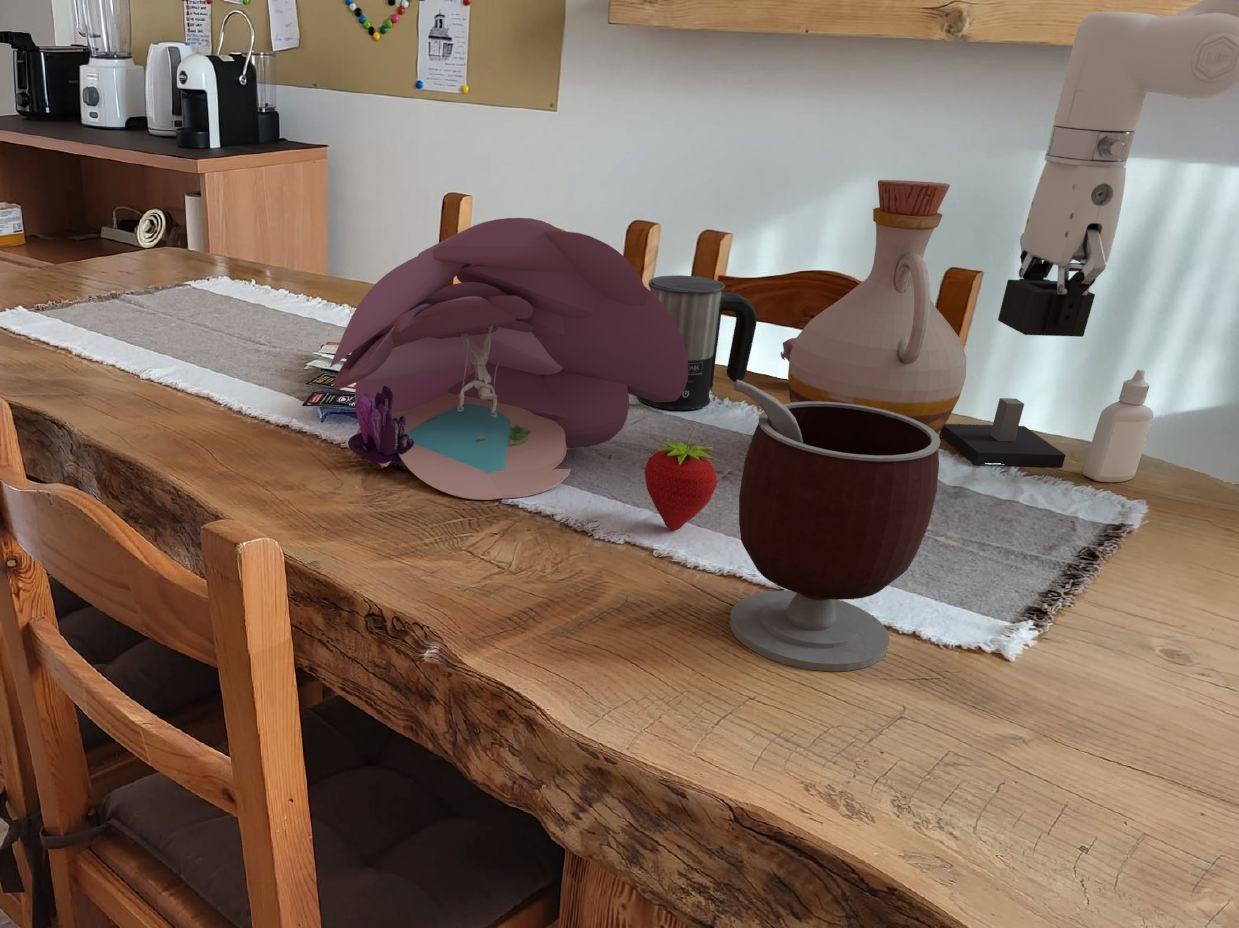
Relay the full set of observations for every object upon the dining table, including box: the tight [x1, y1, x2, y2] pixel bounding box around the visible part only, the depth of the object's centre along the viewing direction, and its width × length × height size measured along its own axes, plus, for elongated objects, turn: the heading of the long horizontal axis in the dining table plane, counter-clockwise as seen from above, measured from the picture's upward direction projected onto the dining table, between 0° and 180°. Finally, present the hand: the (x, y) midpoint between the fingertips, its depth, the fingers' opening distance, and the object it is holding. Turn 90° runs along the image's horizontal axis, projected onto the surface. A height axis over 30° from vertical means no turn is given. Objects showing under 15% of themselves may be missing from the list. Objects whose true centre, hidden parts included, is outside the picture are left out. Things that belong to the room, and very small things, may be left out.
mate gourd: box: [729, 380, 941, 673], centre depth 89 cm, size 16×14×20 cm
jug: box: [787, 179, 967, 435], centre depth 121 cm, size 20×18×30 cm
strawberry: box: [644, 427, 718, 531], centre depth 109 cm, size 6×8×10 cm
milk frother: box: [636, 274, 758, 411], centre depth 148 cm, size 14×16×15 cm
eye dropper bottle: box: [1082, 369, 1154, 483], centre depth 126 cm, size 4×6×12 cm
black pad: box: [997, 279, 1096, 338], centre depth 126 cm, size 6×6×4 cm
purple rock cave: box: [329, 217, 688, 501], centre depth 119 cm, size 35×24×28 cm
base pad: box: [939, 397, 1067, 468], centre depth 134 cm, size 10×10×6 cm
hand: (1041, 322), depth 126 cm, fingers closed on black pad, 6 cm apart
